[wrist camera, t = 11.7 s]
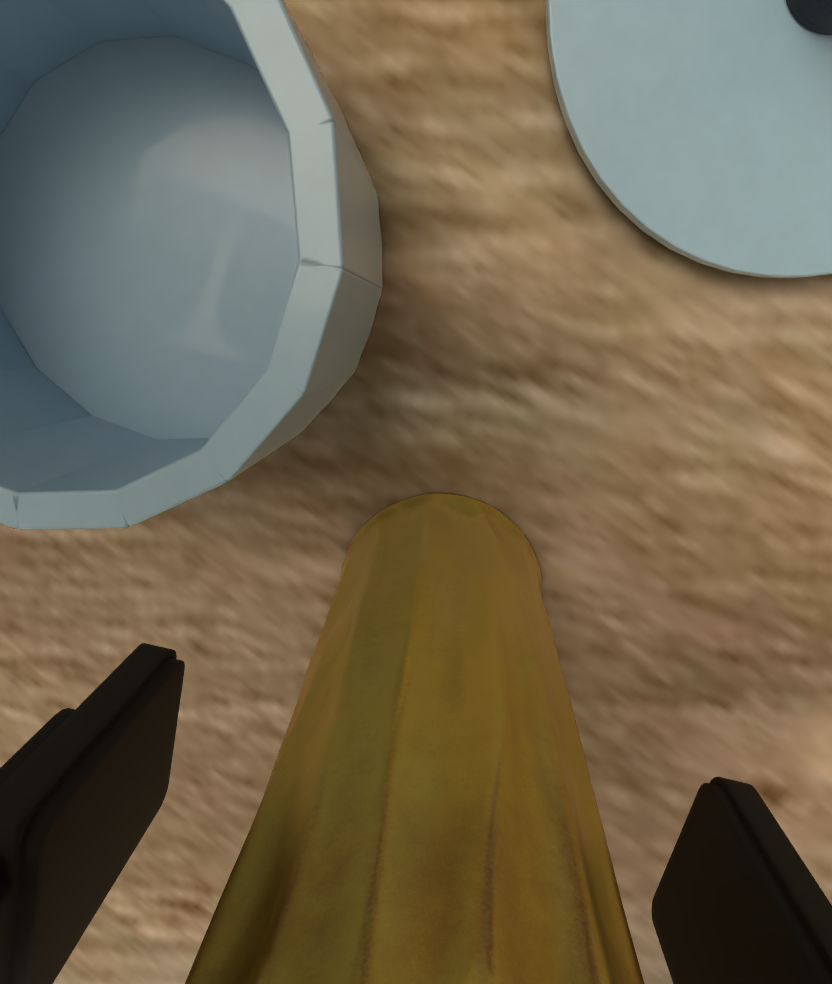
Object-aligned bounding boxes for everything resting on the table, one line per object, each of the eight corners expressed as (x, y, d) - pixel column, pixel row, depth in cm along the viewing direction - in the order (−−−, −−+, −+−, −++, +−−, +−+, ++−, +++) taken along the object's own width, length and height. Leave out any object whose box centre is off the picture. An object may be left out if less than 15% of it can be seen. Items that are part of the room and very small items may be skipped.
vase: (302, 562, 19) (-95, 1175, 5) (465, 450, 18) (503, 866, 4) (417, 707, 20) (338, 1531, 6) (579, 610, 19) (915, 1370, 5)
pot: (-107, 270, 18) (-413, 238, 11) (124, -106, 15) (-110, -414, 9) (210, 538, 19) (93, 639, 13) (472, 240, 16) (482, 188, 10)
